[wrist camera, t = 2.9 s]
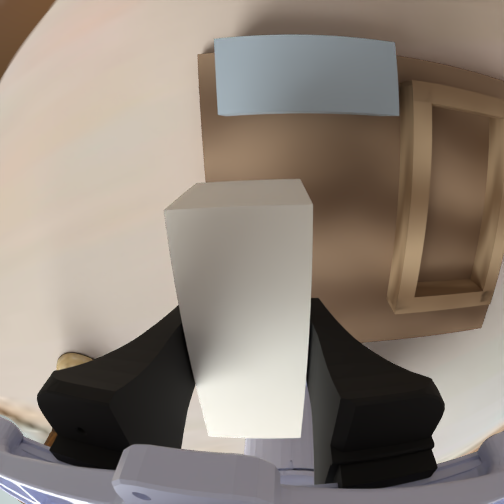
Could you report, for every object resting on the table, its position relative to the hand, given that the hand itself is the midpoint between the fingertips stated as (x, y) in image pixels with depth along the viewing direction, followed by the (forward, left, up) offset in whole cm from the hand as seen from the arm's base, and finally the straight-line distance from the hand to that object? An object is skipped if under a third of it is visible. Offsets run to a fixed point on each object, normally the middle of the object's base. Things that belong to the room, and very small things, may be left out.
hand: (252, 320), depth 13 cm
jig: (+2, -8, -9) cm, 12 cm away
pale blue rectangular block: (+10, -3, -8) cm, 13 cm away
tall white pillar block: (0, 0, -2) cm, 2 cm away
